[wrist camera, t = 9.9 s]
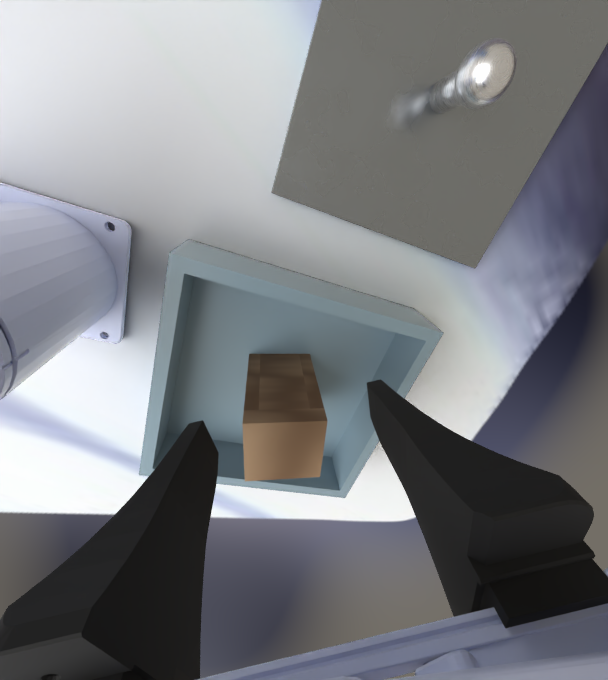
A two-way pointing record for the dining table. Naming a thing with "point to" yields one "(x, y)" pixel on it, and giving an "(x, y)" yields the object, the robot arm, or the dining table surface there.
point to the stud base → (434, 112)
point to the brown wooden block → (282, 418)
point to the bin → (274, 338)
